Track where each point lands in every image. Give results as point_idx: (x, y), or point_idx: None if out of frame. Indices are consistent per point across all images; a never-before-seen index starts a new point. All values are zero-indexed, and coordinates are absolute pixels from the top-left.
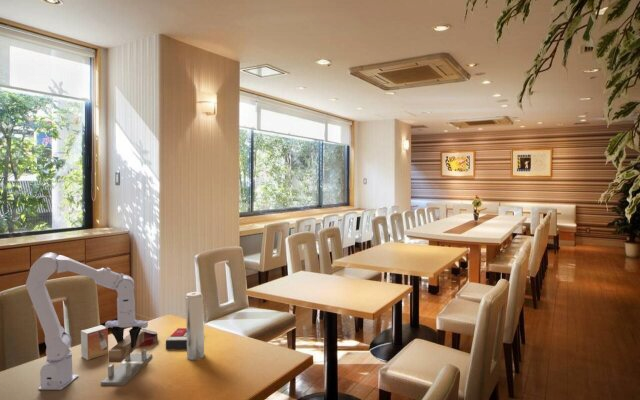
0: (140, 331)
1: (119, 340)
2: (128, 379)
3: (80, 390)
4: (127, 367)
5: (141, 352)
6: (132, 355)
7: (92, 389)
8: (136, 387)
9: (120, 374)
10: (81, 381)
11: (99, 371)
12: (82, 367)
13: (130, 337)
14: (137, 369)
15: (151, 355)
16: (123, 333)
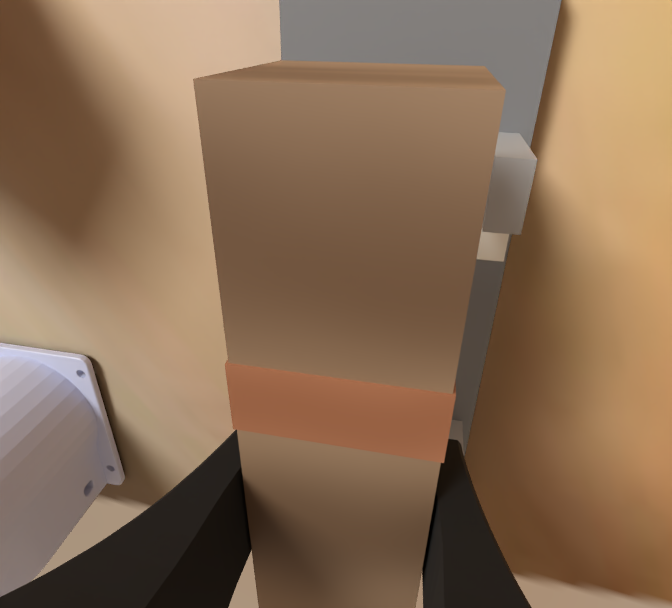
0: (418, 138)
1: (239, 570)
2: None
3: None
4: None
5: (483, 229)
6: (310, 32)
7: None
8: (543, 527)
9: None
10: (157, 412)
11: (174, 301)
12: (2, 225)
13: (331, 443)
14: (486, 352)
15: (557, 4)
16: (193, 540)
